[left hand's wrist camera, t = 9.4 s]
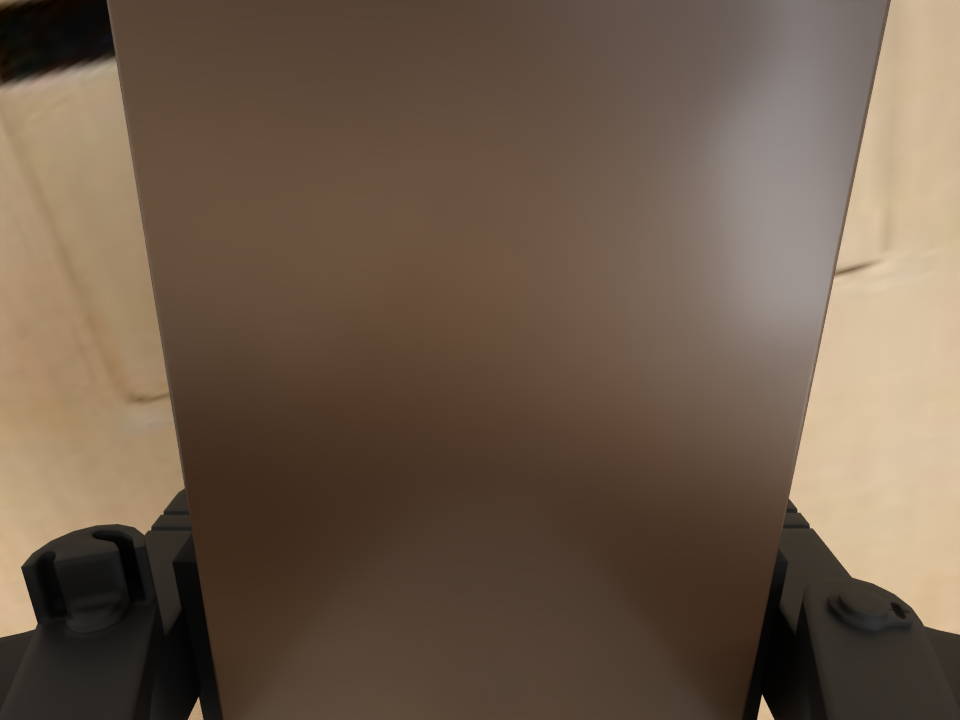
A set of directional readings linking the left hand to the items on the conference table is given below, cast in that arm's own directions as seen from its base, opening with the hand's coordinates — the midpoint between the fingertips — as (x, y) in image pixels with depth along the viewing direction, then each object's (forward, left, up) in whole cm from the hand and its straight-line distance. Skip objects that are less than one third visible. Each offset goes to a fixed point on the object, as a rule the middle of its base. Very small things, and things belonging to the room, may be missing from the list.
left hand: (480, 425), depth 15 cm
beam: (+15, +7, 0) cm, 16 cm away
